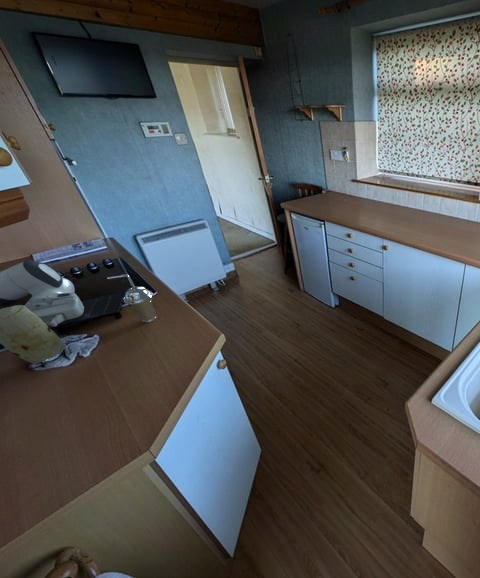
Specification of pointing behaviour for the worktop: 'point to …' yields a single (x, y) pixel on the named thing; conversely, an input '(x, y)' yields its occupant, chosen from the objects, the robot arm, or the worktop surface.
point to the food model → (28, 335)
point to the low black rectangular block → (96, 310)
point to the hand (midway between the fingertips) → (29, 330)
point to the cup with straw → (139, 301)
